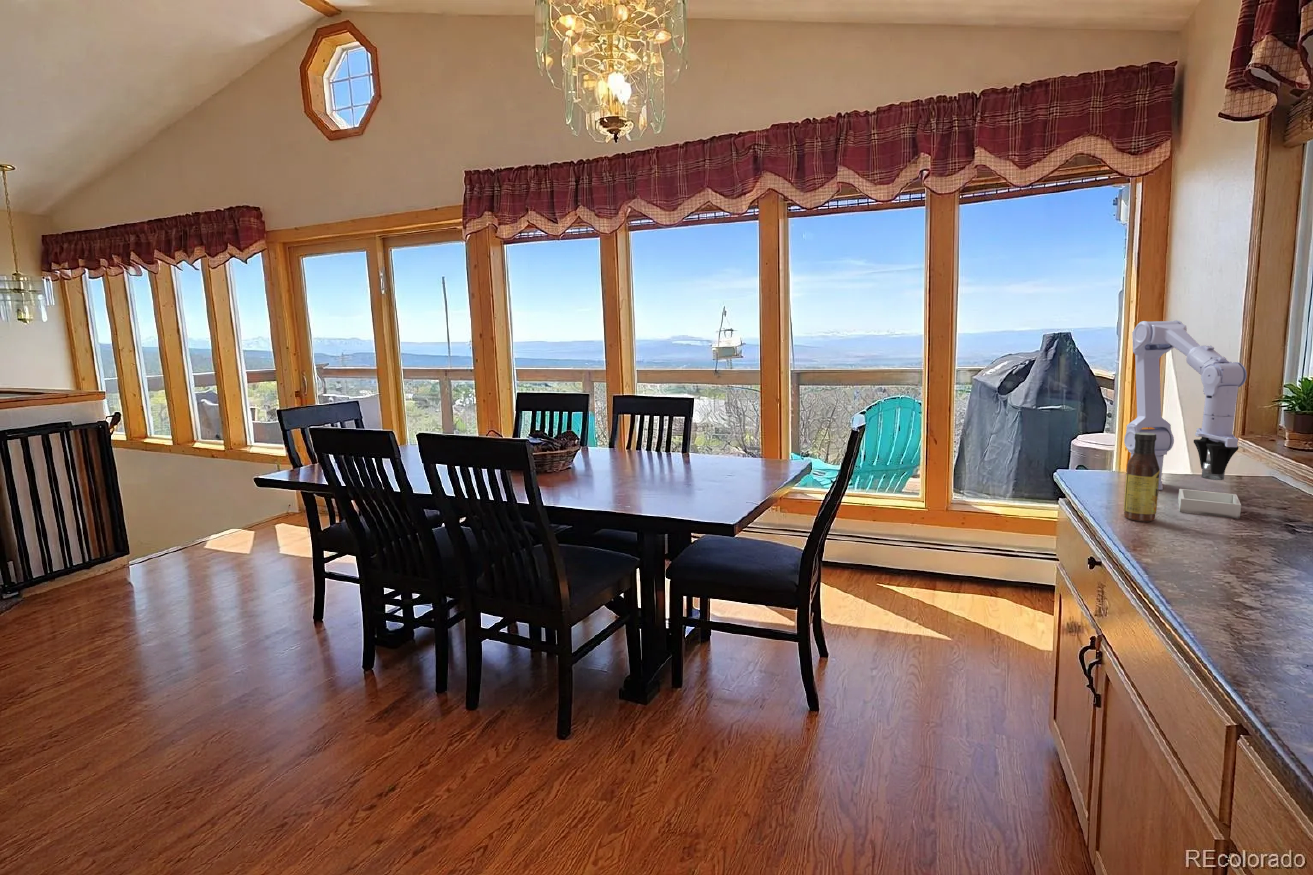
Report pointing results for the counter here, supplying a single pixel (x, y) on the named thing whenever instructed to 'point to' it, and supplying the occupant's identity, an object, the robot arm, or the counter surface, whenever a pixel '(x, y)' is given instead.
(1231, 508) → the bin
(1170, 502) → the counter surface
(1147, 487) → the sauce bottle
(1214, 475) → the silver metal knob
